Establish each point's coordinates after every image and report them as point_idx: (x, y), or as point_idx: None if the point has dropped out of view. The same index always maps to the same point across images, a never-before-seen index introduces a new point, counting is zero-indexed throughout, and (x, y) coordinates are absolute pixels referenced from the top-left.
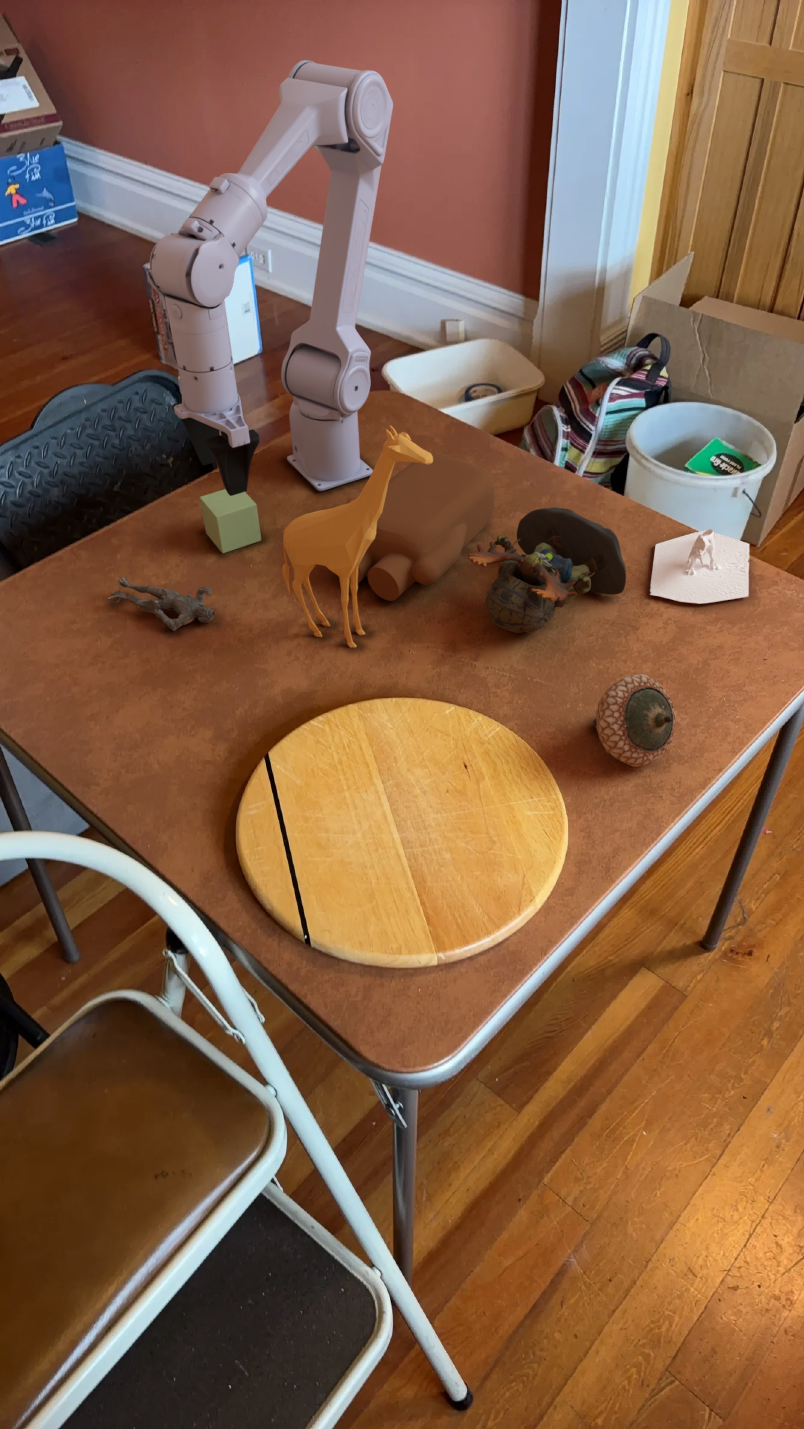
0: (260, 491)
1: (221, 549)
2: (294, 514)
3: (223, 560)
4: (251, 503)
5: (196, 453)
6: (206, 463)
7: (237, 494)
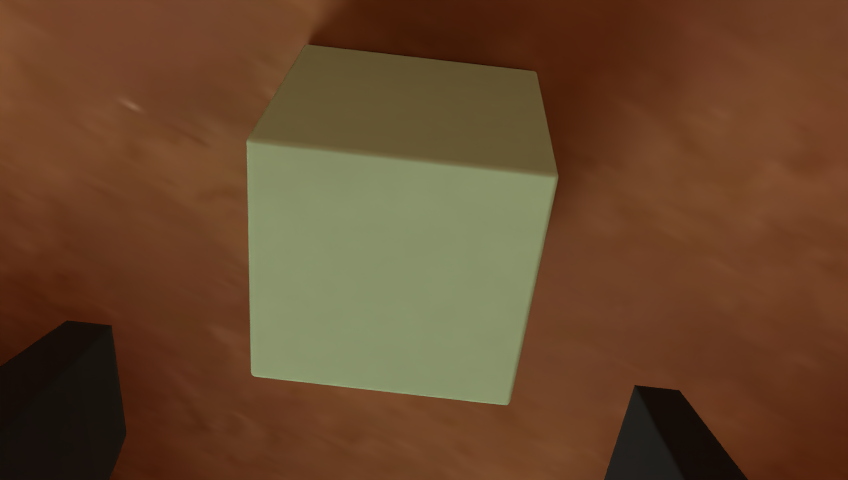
0: None
1: (302, 51)
2: (401, 424)
3: (248, 16)
4: (275, 362)
5: (719, 446)
6: (630, 414)
7: (415, 354)
